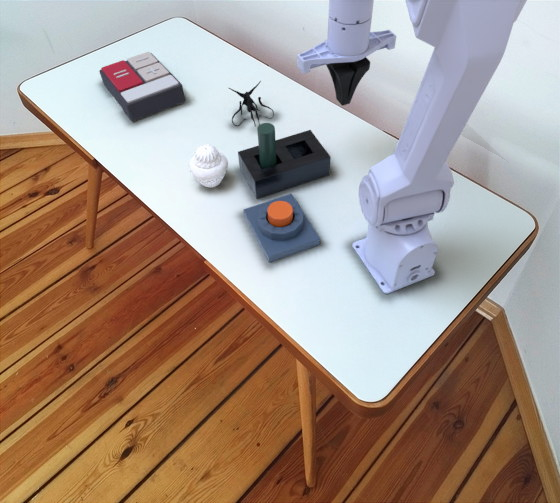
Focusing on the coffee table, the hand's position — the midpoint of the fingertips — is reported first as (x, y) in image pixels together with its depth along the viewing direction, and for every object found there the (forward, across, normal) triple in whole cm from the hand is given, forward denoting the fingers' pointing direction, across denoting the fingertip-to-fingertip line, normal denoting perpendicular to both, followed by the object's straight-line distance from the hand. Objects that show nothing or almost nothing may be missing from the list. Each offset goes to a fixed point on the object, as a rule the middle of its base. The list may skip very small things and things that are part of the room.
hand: (343, 101), depth 79 cm
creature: (+11, +10, -16) cm, 21 cm away
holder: (+10, +10, 0) cm, 15 cm away
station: (+10, +16, +11) cm, 22 cm away
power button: (+8, +16, +11) cm, 21 cm away
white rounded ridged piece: (+11, +22, -3) cm, 24 cm away
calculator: (+11, +26, -32) cm, 42 cm away
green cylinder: (+10, +13, 0) cm, 17 cm away
